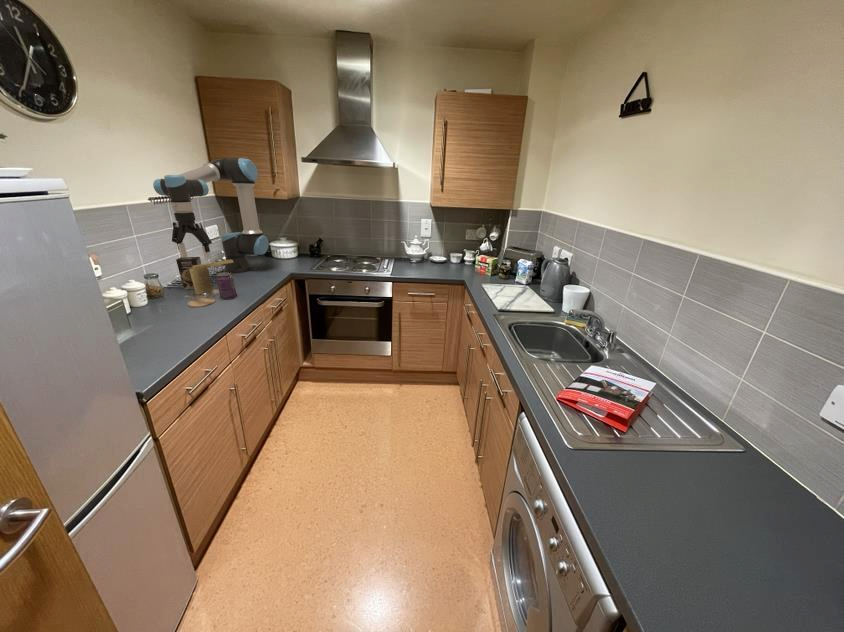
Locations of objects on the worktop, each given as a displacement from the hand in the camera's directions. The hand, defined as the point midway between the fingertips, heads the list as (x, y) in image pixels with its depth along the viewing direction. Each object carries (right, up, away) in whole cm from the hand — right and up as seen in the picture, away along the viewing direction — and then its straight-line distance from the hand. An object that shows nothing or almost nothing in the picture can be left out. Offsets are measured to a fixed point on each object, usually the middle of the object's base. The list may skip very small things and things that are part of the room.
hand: (196, 258), depth 154 cm
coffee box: (-12, -13, +17) cm, 25 cm away
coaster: (+5, -22, -3) cm, 23 cm away
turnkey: (+3, -14, +11) cm, 18 cm away
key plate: (0, -17, +7) cm, 19 cm away
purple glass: (+13, -19, +4) cm, 24 cm away
